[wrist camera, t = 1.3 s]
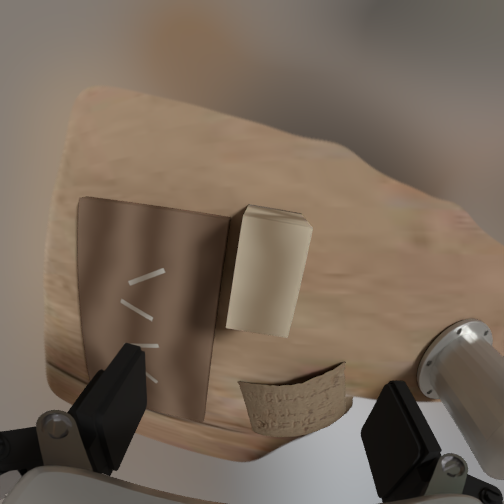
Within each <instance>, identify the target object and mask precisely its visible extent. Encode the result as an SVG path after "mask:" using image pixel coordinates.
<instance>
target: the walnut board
mask: <svg viewBox="0 0 504 504" xmlns="http://www.w3.org/2000/svg"><path fill="white" fill-rule="evenodd" d="M230 219H231V217H226V216H220V215H213V214H207V213H201V212H194V211H188V210H181V209H174V208H167V207H161V206H154V205H147V204H139V203H132V202H125V201H117V200H110V199H102V198H94V197H82V198H79V211H78V281H79V298H80V311H81V322H82V331H83V340H84V347H85V354H86V361H87V367H88V373H89V379H90V381H91V380H92V378H93V377H94V376H95V374H96V373H97V372H98V371H99V370H101V369H102V370H106V368H107V367H108V365H109V364H110V363H111V361H112V360H113V359H114V357H115V356H116V355H117V353H118V352H119V351H120V349H121V348H122V347H123V345H124V344H125V343H130V344H133V345H137V346H140V347H141V350H142V351H145V363H146V387H147V406H146V409H149V410H153V411H157V412H160V413H164V414H168V415H172V416H177V417H181V418H185V419H190V420H195V421H199V422H203V420H204V416H205V409H206V400H207V391H208V383H209V374H210V366H211V358H212V349H213V341H214V333H215V326H216V318H217V310H218V303H219V295H220V288H221V281H222V274H223V267H224V260H225V253H226V246H227V239H228V232H229V226H230Z"/></svg>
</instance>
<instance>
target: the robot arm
mask: <svg viewBox="0 0 504 504" xmlns="http://www.w3.org/2000/svg"><path fill="white" fill-rule="evenodd" d="M492 341H493V340H492V333H491V331H490V329H489V327H488V326H487V325H486V324H485V323H484V322H482V321H480V320H478V319H466V320H462V321H460V322H457V323H455V324H454V325H452V326H450V327H449V328H447V329H446V330H445V331H443V332H442V333H441V334H440V335H439V336H438V337H437V338H436V339H435V340H434V341H433V343H432V344H431V345H430V346H429V348H428V349H427V351H426V352H425V354H424V356H423V358H422V360H421V362H420V365H419V368H418V372H417V383H418V386H419V388H420V389H421V391H422V393H423V394H424V395H425V396H427V397H429V398H433V399H441V401H442V403H443V404H444V406H445V407H446V409H447V410H448V412H449V414H450V415H451V417H452V419H453V420H454V422H455V423H456V425H457V426H458V428H459V430H460V432H461V433H462V435H463V437H464V439H465V440H466V442H467V444H468V445H469V447H470V449H471V451H472V452H473V454H474V456H475V458H476V459H477V461H478V463H479V465H480V466H481V468H482V469H483V471H484V472H485V473H486V474H487V475H488V476H490V477H492V478H494V479H499V480H504V356H502V355H501V354H500V353H499V352H498V351H497V350H496V349H495V348H494V347H493V346H492ZM146 406H147V387H146V363H145V351H142V350H141V347H140V346H137V345H133V344H130V343H125V344H124V345H123V347H122V348H121V349H120V351H119V352H118V353H117V355H116V356H115V357H114V359H113V360H112V361H111V363H110V364H109V365H108V367H107V368H106V370H102V369H101V370H99V371H98V372H97V373H96V374H95V376H94V377H93V378H92V380H91V381H90V382H89V384H88V385H87V386H86V388H85V389H84V390H83V392H82V393H81V394H80V396H79V397H78V399H77V400H76V401H75V403H74V404H73V405H72V407H71V408H70V410H69V411H68V412H67V413H66V412H64V411H60V410H51V411H47V412H45V413H43V414H42V415H41V416H40V417H39V418H38V420H37V422H36V427H30V428H23V429H17V430H10V431H2V432H0V500H1V499H3V498H5V497H6V498H5V499H4V501H3V502H2V504H226V503H218V502H212V501H205V500H200V499H194V498H190V497H185V496H180V495H175V494H171V493H167V492H163V491H159V490H155V489H151V488H148V487H144V486H140V485H137V484H133V483H130V482H127V481H123V480H120V479H117V478H113V477H110V475H111V473H112V471H113V470H115V471H117V470H118V468H119V467H120V464H121V462H122V460H123V457H124V455H125V453H126V451H127V448H128V446H129V444H130V442H131V440H132V438H133V435H134V433H135V431H136V429H137V427H138V425H139V422H140V420H141V418H142V416H143V414H144V412H145V409H146ZM361 438H362V441H363V444H364V448H365V451H366V455H367V458H368V462H369V465H370V469H371V472H372V476H373V479H374V483H375V486H376V490H377V494H378V496H379V498H382V502H383V503H380V504H504V501H503V502H502V500H503V497H502V494H501V492H500V490H499V489H498V488H497V487H495V486H493V485H491V484H489V483H486V482H484V481H482V480H479V479H477V478H475V477H473V476H470V475H468V474H467V473H468V466H467V463H466V461H465V460H464V459H463V458H462V457H461V456H459V455H457V454H453V453H447V454H444V455H443V456H441V454H440V452H441V448H440V446H439V444H438V442H437V440H436V438H435V436H434V434H433V432H432V430H431V429H430V427H429V425H428V423H427V421H426V419H425V417H424V416H423V414H422V412H421V410H420V408H419V406H418V404H417V403H416V401H415V399H414V397H413V395H412V394H411V392H410V390H409V388H408V386H407V385H406V383H405V382H404V381H390V382H389V383H388V384H386V385H385V386H384V387H383V389H382V392H381V394H380V396H379V397H378V399H377V401H376V403H375V405H374V407H373V409H372V411H371V413H370V415H369V416H368V418H367V420H366V422H365V424H364V425H363V427H362V430H361ZM102 473H103V474H102ZM104 474H106V475H104ZM107 475H108V476H107ZM7 493H8V495H7V496H6V495H5V494H7Z"/></svg>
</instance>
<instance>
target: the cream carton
mask: <svg viewBox="0 0 504 504" xmlns="http://www.w3.org/2000/svg"><path fill="white" fill-rule="evenodd" d="M312 230H313V228H312V226H311V225H310V224H309V223H308V221H307V220H306V219H305V218H304V216H303V215H302V214H301V213H296V212H290V211H285V210H279V209H274V208H268V207H262V206H256V205H250V204H249V205H248V207H247V209H246V211H245V213H244V215H243V219H242V225H241V232H240V238H239V244H238V251H237V257H236V264H235V270H234V277H233V283H232V290H231V296H230V303H229V310H228V316H227V323H226V328H229V329H235V330H240V331H246V332H253V333H259V334H265V335H272V336H279V337H286V338H288V334H289V330H290V326H291V322H292V318H293V314H294V310H295V306H296V302H297V298H298V293H299V289H300V285H301V281H302V276H303V272H304V267H305V263H306V258H307V254H308V249H309V244H310V239H311V235H312Z"/></svg>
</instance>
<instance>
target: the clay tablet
mask: <svg viewBox="0 0 504 504" xmlns="http://www.w3.org/2000/svg"><path fill="white" fill-rule="evenodd" d="M345 363H346V362H343V363H342V364H341V365H339V366H338V367H337V368H335V369H334V370H331V371H329V372H326V373H325V374H324V375H321V376H318V377H315V378H312V379H310V380H308V381H306V382H304V383H302V384H295V385H282V386H275V385H271V386H269V385H261V384H250V383H245V382H243V383H242V382H241V381H239V382H238V383H239V385H240V389H241V391H242V394H243V398H244V401H245V404H246V407H247V411H248V415H249V418H250V422H251V426H252V430H253V431H254V432H256V433H258V434H261V435H266V436H271V437H293V436H300V435H305V434H309V433H312V432H315V431H318V430H320V429H322V428H325V427H327V426H330V425H331V424H332V423H334V422H336V421H337V420H338V419H340V418H341V417H342V416H344V414H346V413H347V412H348V411H349V409H350V408H351V407H352V405H353V397H351V396H350V397H348V396H347V397H345V374H344V370H345Z"/></svg>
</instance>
